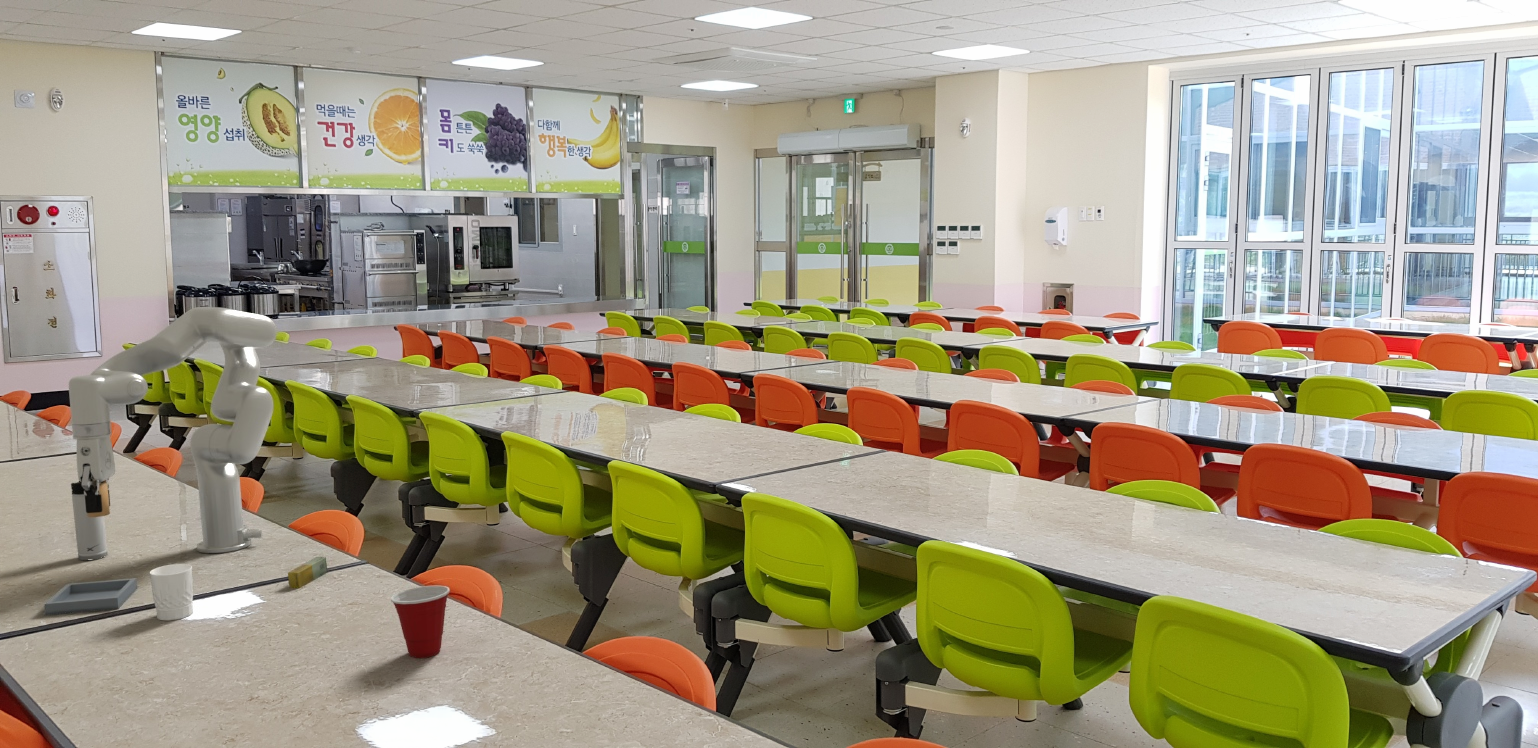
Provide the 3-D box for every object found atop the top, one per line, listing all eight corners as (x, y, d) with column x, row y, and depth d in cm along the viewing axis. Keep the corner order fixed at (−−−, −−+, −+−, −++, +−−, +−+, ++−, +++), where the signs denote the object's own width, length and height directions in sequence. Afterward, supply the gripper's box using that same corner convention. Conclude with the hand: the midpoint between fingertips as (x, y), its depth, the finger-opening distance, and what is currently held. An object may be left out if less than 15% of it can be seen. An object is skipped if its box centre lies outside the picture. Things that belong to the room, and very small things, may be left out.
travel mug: (95, 561, 280) (87, 481, 278) (72, 560, 282) (64, 481, 279) (114, 554, 286) (107, 476, 284) (92, 553, 288) (84, 475, 285)
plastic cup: (432, 637, 225) (428, 578, 223) (465, 649, 218) (461, 589, 216) (382, 654, 217) (378, 593, 215) (415, 667, 210) (411, 604, 208)
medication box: (317, 572, 269) (316, 556, 268) (328, 572, 269) (326, 556, 268) (288, 589, 257) (286, 572, 257) (299, 589, 257) (298, 572, 256)
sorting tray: (137, 588, 259) (136, 578, 258) (118, 608, 245) (117, 597, 245) (68, 594, 255) (67, 583, 255) (45, 615, 242) (44, 604, 241)
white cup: (149, 623, 236) (145, 576, 234) (159, 611, 243) (154, 565, 242) (191, 619, 238) (187, 573, 236) (199, 607, 245) (195, 562, 244)
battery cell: (112, 512, 262) (110, 479, 262) (106, 516, 258) (103, 483, 257) (91, 513, 261) (88, 480, 261) (84, 517, 257) (81, 484, 256)
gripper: (97, 435, 250) (103, 517, 252) (122, 423, 266) (128, 500, 269) (59, 437, 249) (66, 519, 251) (86, 425, 265) (93, 502, 267)
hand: (98, 508), depth 260 cm, fingers closed on battery cell, 4 cm apart
